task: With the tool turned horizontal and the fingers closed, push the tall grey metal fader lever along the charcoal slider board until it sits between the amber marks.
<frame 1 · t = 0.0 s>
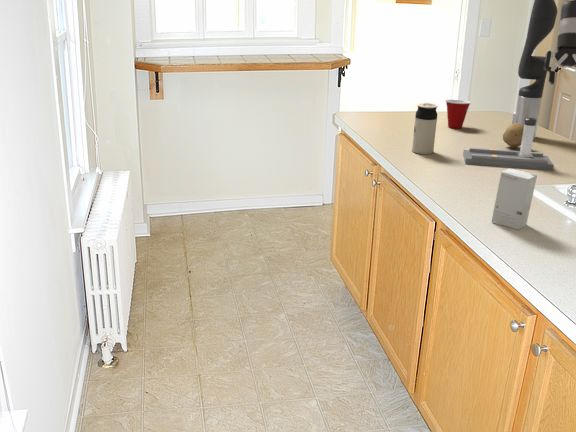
hand: (565, 84, 214), 31 cm above the worktop, tool tilted 20°, fingers open, 8 cm apart
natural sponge: (513, 148, 260), on the worktop
slider board: (506, 162, 241), on the worktop
fader lever: (527, 138, 237), point 9 cm above the worktop, slide at 0.0 cm
travel mug: (422, 152, 251), on the worktop
skincare box: (509, 224, 184), on the worktop
plastic cup: (454, 127, 290), on the worktop
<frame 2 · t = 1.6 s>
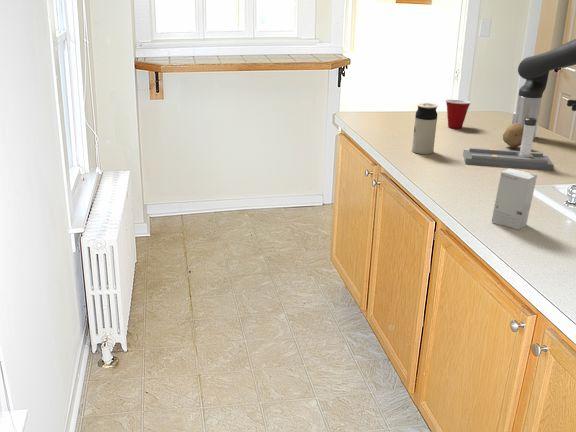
hand: (569, 105, 230), 22 cm above the worktop, tool horizontal, fingers open, 7 cm apart
nothing on the worktop moved.
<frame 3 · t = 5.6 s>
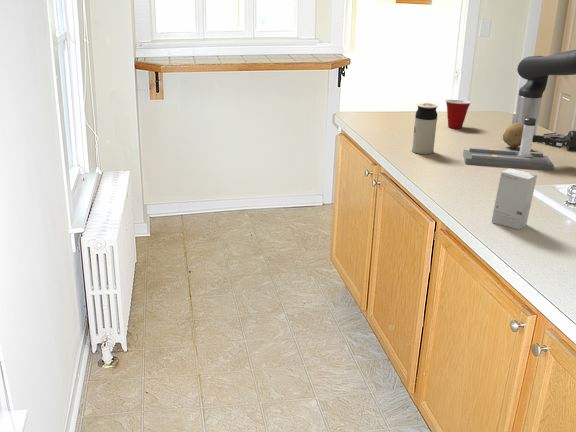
hand: (531, 138, 236), 9 cm above the worktop, tool horizontal, fingers closed
fader lever: (527, 138, 237), point 9 cm above the worktop, slide at 0.2 cm, touching gripper
everything else where it was.
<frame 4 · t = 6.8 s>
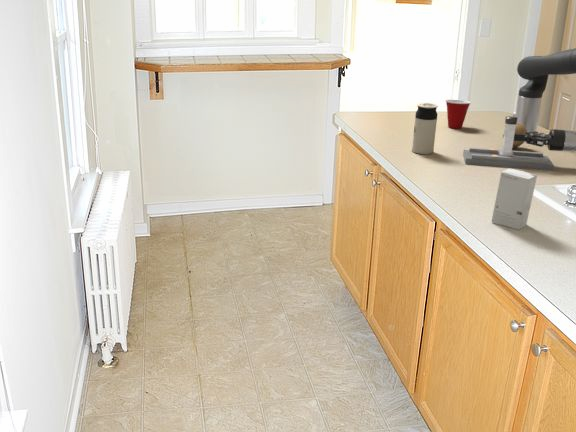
hand: (513, 137, 237), 9 cm above the worktop, tool horizontal, fingers closed
fader lever: (508, 137, 238), point 9 cm above the worktop, slide at 6.6 cm, touching gripper
everything else where it was.
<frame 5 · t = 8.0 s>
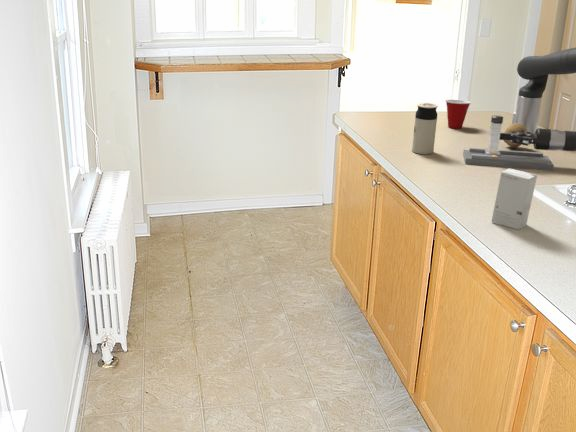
hand: (499, 136, 238), 9 cm above the worktop, tool horizontal, fingers closed
fader lever: (494, 136, 238), point 9 cm above the worktop, slide at 11.4 cm, touching gripper
everything else where it was.
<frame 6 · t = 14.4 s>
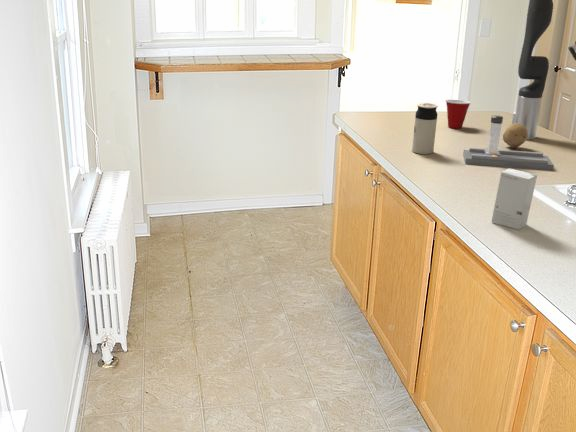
fader lever: (494, 136, 238), point 9 cm above the worktop, slide at 11.5 cm
everything else where it was.
at the end: fader lever slide at 11.5 cm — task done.
